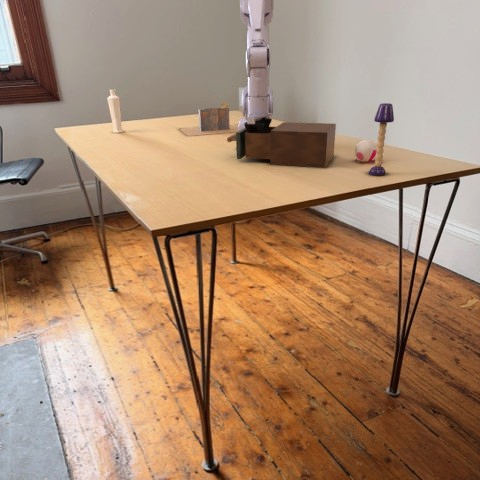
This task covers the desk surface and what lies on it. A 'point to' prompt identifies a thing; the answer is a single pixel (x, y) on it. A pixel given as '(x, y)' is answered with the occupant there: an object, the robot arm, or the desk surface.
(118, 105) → the perfume bottle
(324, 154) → the cabinet
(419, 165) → the desk surface
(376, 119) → the toy lamp
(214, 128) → the architectural model on board
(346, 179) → the desk surface
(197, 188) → the desk surface
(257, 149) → the drawer
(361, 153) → the stress ball
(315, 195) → the desk surface
